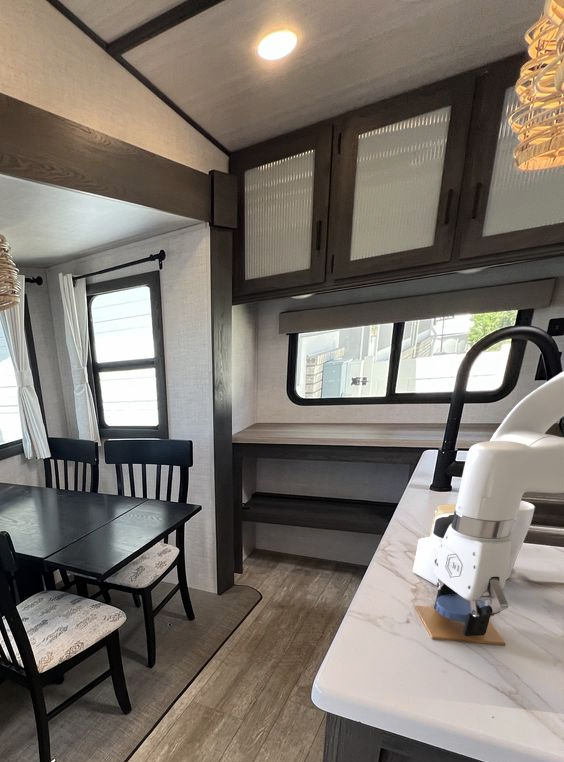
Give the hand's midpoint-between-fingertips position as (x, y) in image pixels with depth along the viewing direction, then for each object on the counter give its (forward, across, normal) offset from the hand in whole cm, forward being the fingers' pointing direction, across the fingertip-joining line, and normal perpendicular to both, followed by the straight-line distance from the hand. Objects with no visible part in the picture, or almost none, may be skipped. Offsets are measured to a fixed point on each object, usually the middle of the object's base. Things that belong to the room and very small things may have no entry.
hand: (458, 620), depth 79 cm
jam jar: (+1, -31, +16) cm, 35 cm away
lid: (-3, 0, 0) cm, 3 cm away
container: (+1, -17, +7) cm, 18 cm away
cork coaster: (+1, 0, 0) cm, 1 cm away
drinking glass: (+1, -16, +17) cm, 23 cm away
